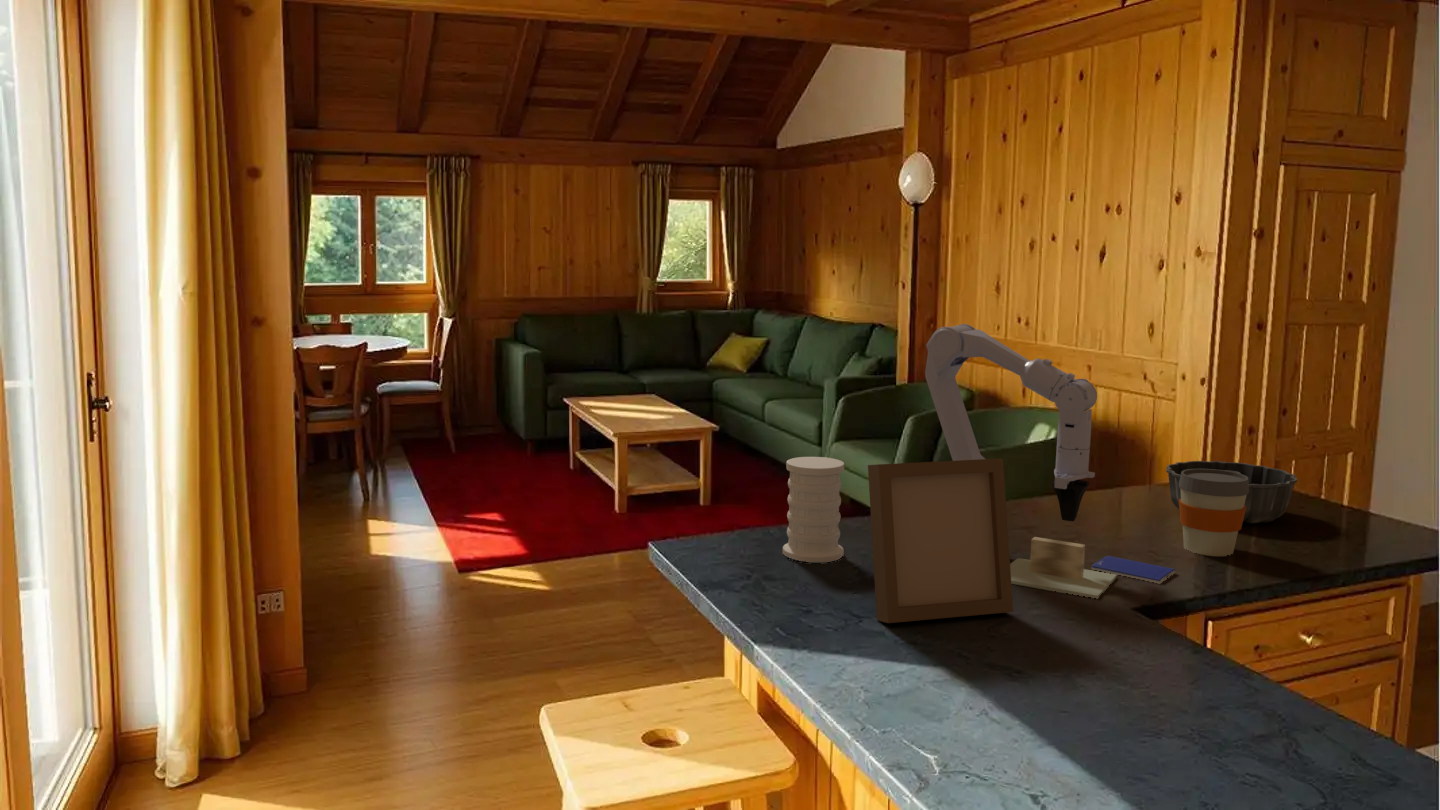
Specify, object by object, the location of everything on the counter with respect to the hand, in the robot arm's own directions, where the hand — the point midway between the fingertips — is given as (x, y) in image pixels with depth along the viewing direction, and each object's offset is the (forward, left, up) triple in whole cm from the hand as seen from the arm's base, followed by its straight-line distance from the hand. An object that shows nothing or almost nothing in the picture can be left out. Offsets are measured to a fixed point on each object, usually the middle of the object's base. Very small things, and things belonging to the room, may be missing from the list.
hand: (1068, 520), depth 201 cm
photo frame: (-13, -34, -10) cm, 37 cm away
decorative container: (-43, -18, -10) cm, 47 cm away
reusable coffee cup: (+20, +29, -10) cm, 37 cm away
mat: (0, -7, -9) cm, 12 cm away
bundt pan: (+19, +61, -10) cm, 65 cm away
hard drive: (+11, +6, -10) cm, 16 cm away
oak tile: (0, -6, -9) cm, 11 cm away
